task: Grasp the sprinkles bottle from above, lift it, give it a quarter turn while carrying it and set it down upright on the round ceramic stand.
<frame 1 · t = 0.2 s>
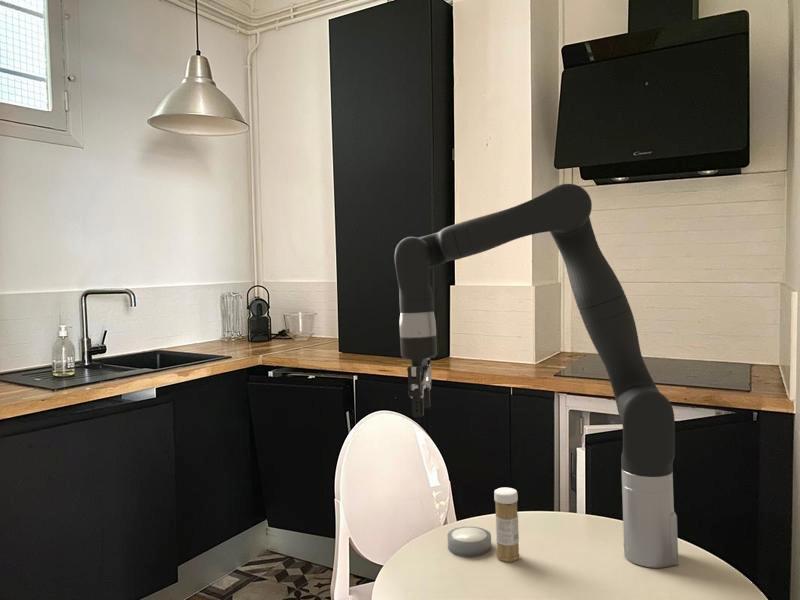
hand: (421, 412, 127), 28 cm above the table, tool pointing down, fingers open, 8 cm apart
sprinkles bottle: (508, 558, 121), on the table
stand: (469, 547, 127), on the table
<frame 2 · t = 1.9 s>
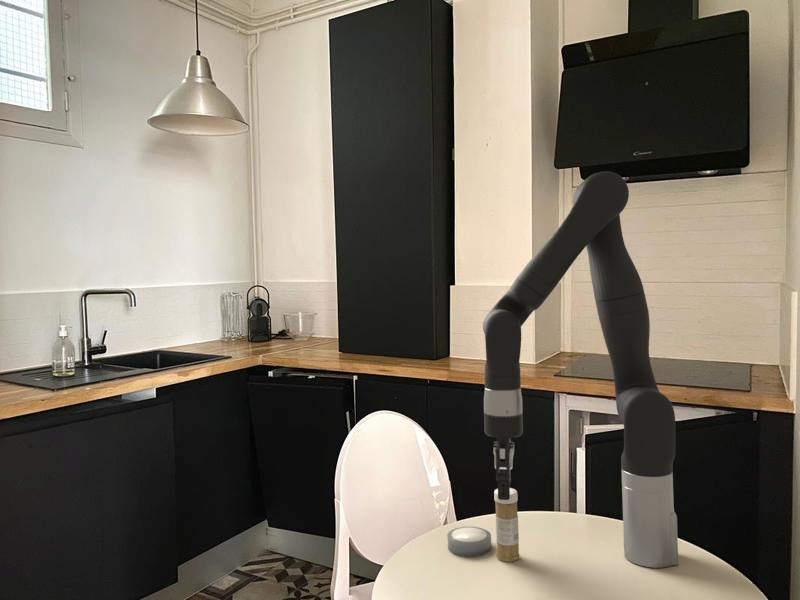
hand: (504, 491, 121), 13 cm above the table, tool pointing down, fingers open, 8 cm apart
nothing on the table moved.
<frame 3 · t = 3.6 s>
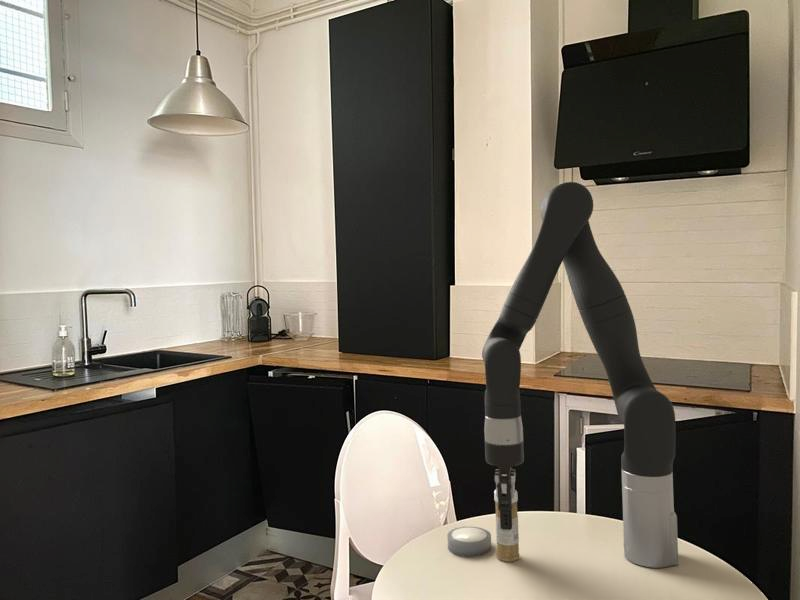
hand: (506, 523, 121), 7 cm above the table, tool pointing down, fingers closed on sprinkles bottle, 4 cm apart
sprinkles bottle: (508, 558, 121), on the table, touching gripper
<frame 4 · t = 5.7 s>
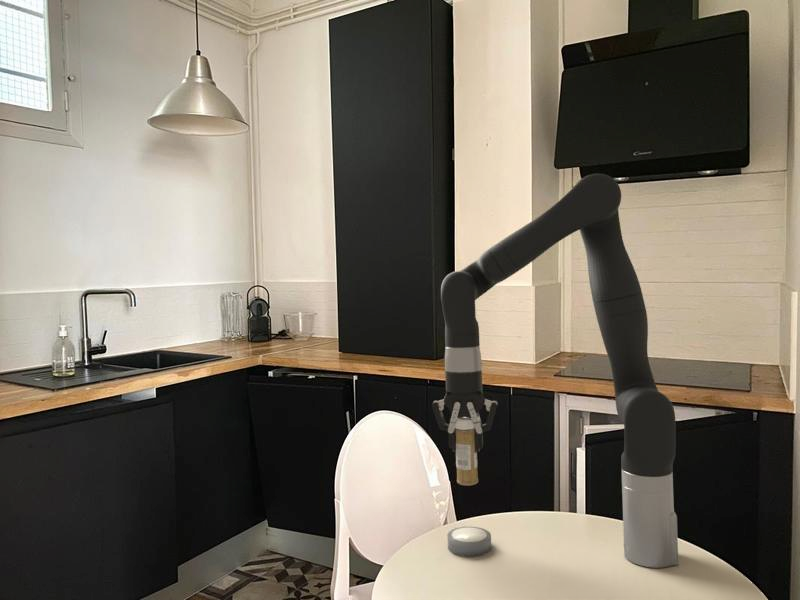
hand: (466, 450, 126), 20 cm above the table, tool pointing down, fingers closed on sprinkles bottle, 4 cm apart
sprinkles bottle: (467, 483, 127), point 13 cm above the table, touching gripper
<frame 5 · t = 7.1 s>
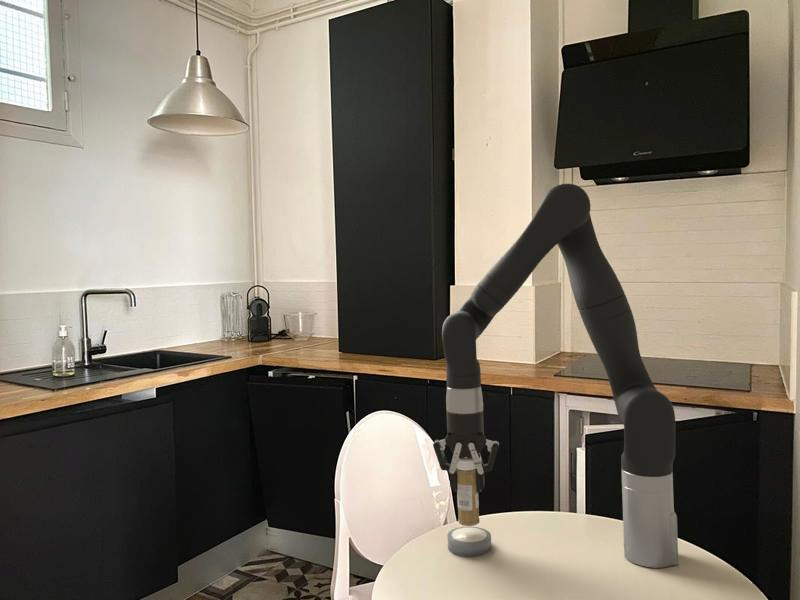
hand: (467, 490, 127), 12 cm above the table, tool pointing down, fingers closed on sprinkles bottle, 4 cm apart
sprinkles bottle: (468, 523, 127), point 5 cm above the table, touching gripper
when the fingers open (10 cm above the table, at t = 8.2 s): sprinkles bottle drops 1 cm, resting on stand.
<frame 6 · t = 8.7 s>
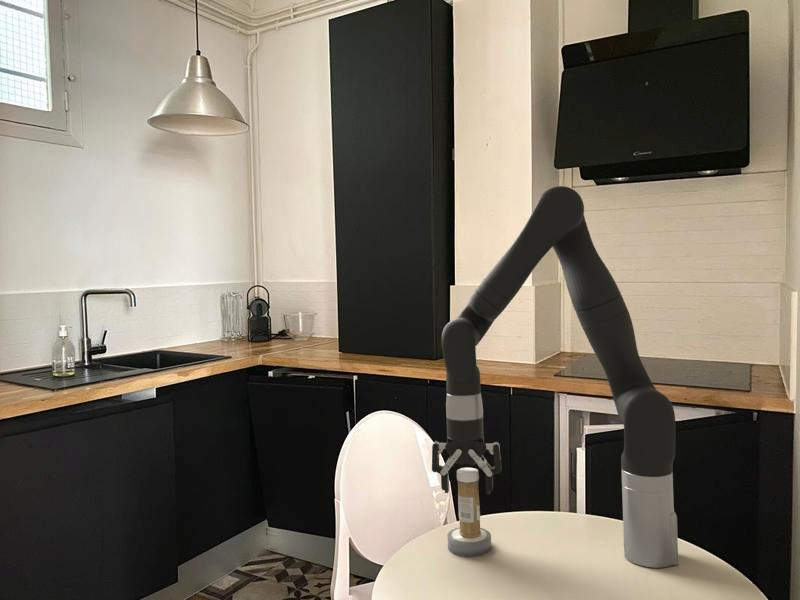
hand: (467, 492, 127), 11 cm above the table, tool pointing down, fingers open, 8 cm apart
sprinkles bottle: (470, 535, 127), point 2 cm above the table, touching stand
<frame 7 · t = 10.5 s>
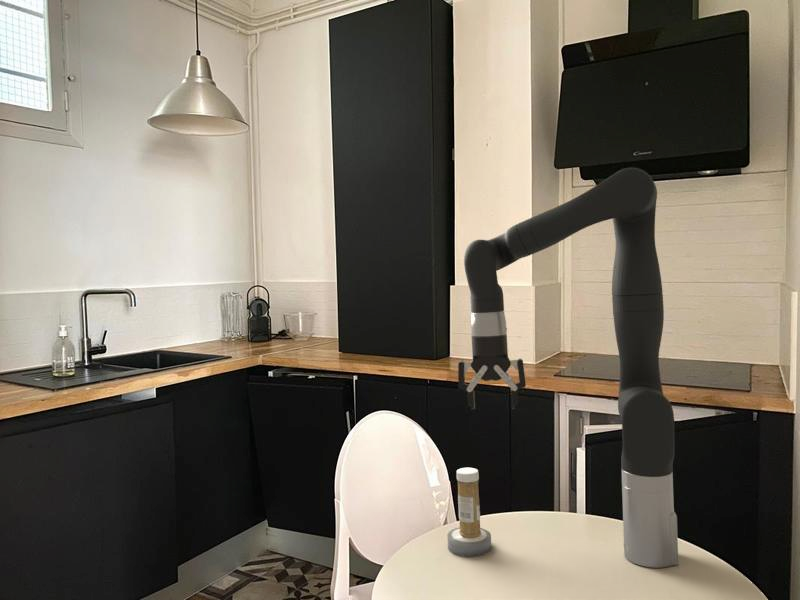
hand: (493, 408, 131), 28 cm above the table, tool pointing down, fingers open, 8 cm apart
nothing on the table moved.
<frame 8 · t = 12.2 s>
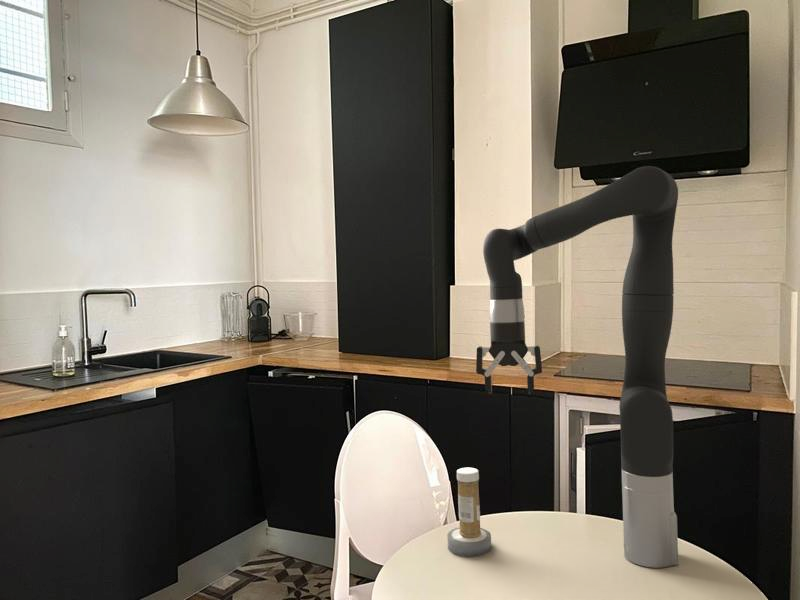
hand: (509, 393, 135), 30 cm above the table, tool pointing down, fingers open, 8 cm apart
nothing on the table moved.
at the end: sprinkles bottle 0.2 cm off-centre on the stand, point 2.5 cm above the stand's base; sprinkles bottle tilted 0°; the gripper is holding nothing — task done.
